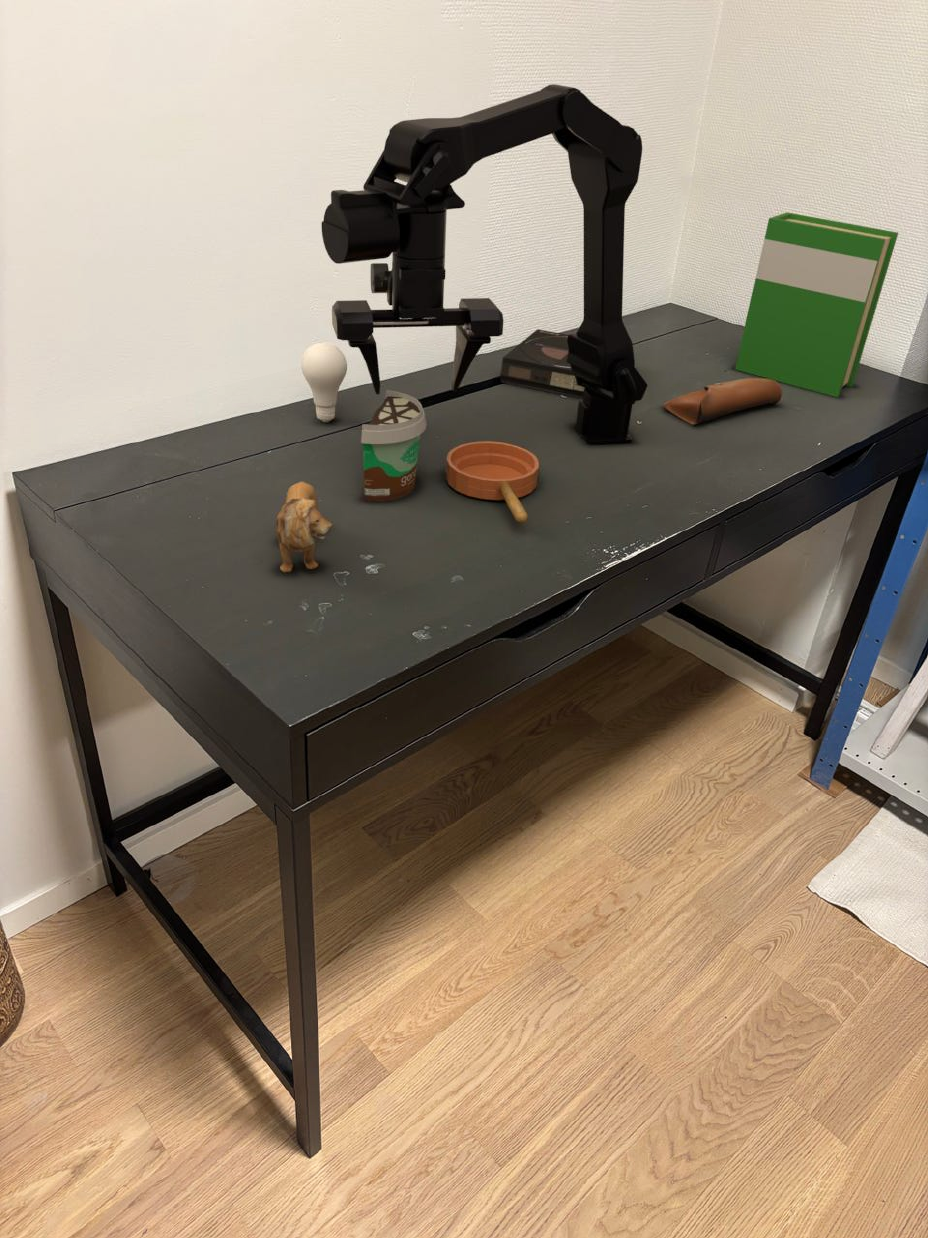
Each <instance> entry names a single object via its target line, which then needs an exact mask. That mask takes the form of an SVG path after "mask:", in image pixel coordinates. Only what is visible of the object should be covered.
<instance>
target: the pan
mask: <svg viewBox="0 0 928 1238" xmlns="http://www.w3.org/2000/svg"><path fill="white" fill-rule="evenodd" d="M445 462H446V463H445V480H446V482H447V484H448V486H450V488H452V489H453V490H455V491H456V492H458V493H460V494H463V495H465V496H467V497H471V498H476V499H479V500H486V501H487V500H488V501H505V499H504V498H503V496H502V494H501V492H500V490H499V484H500V483H501V482H503V481H506V482H508V483H509V484H510V486H511V487H512V489H513V491H514V493H515V494H516V496H517V498H518V499H519V498H522V497H526V496H527V495H529V494H531V493H532V492H534V490H535V489H536V487H537V486H538V479H539V478H538V477H539V468H540V461H539V459H538V458H537V456H536V455H535V454H534V453H532V452H531V451H529V450H528V449H525V448H523V447H521V446H518V445H515V444H511V443H506V442H501V441H500V442H499V441H490V440H489V441H487V440H485V441H484V440H483V441H474V442H468V443H462V444H460V445H458V446H455V447H454V448H452V449H451V450H450V451H449V452H448V453H447V456H446V461H445Z"/></svg>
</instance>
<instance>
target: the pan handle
mask: <svg viewBox="0 0 928 1238" xmlns="http://www.w3.org/2000/svg"><path fill="white" fill-rule="evenodd" d="M499 490H500V492H501V494H502V496H503V498H504V499H505V500H504V501H505V503H506V505H507V507H508V508H509V510H510V512H511V514H512V516H513V518H514V519H515V521H516V522H517V523H519V524H524V523H526V522H527V521H528V519H529V516H528V513H527V512H526V509H525V508H524V507H523V504H522V502H521V501H520V499H519V498H517V496H516V494H515V493H514V491H513V489H512V487H511V486H510V484H509V483H508V482H506V481H503V482H501V483H500V484H499Z"/></svg>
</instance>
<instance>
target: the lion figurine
mask: <svg viewBox="0 0 928 1238" xmlns="http://www.w3.org/2000/svg"><path fill="white" fill-rule="evenodd" d="M331 527H332V523H331V522H330V521H329V520H327V519H326V518H324V517H323V516H322V513H321V512H320V511H319V502H318V497H317V493H316V491H315V488H314V487H313V486H312V485H311V484H309V483H306V481H299V482H296V483H294V484H293V485H291V486H290V487H289V488H288V491H287V493H286V496H285V503H284V504H283V505H282V507H281V510H280V511H279V512H278V514H277V517H276V520H275V531H276V537H277V540H278V543H279V549H280V554H281V558H282V564H281V565H280V567H279V569H280V571H281V572H282V573H291V572H292V570H293V567H294V563H293V560H292V556H291V553H294V552H296V553H302V552H304V556H303V563H304V565H305V567H306V568H307V569H308V570H314V569H316V568H318V566H319V563H318V562H316V561H315V557H314V550H315V545H316V540H317V538H318V539H320V540H324V539H325V538H326V535H327V533H328V532H329V530H330V529H331Z"/></svg>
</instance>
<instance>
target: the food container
mask: <svg viewBox="0 0 928 1238" xmlns="http://www.w3.org/2000/svg"><path fill="white" fill-rule="evenodd" d="M361 426H362V427H361V428H362V429H361V440H360V443H361V444H362V457H363V459H362V460H363V462H362V463H363V487H364V501H367V502H368V501H370V502H388V501H392V500H398V499H401V498H403V497H406V496H409V494H411V493H412V492H413V491H414V489H415V486H416V477H417V469H418V459H419V451H420V450H419V449H420V440H421V434H423V433H424V432H425V430H426V428H427V419H426V413H425V410H424V408H423V405H422V404H421V401H419V400H418V399H417V398H415V397H413V396H412V395H409V394H407V393H404V392H401V391H397V390H391V389H385V399H384V401H383V402H382V404H381V405H380V406H379V407H378V408H377V409H376V410H375V411H374V414H373V416H372V418H371V420H370V422H369V423H368V424H367V423H366V424H364V423H363V424H362V425H361Z"/></svg>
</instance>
